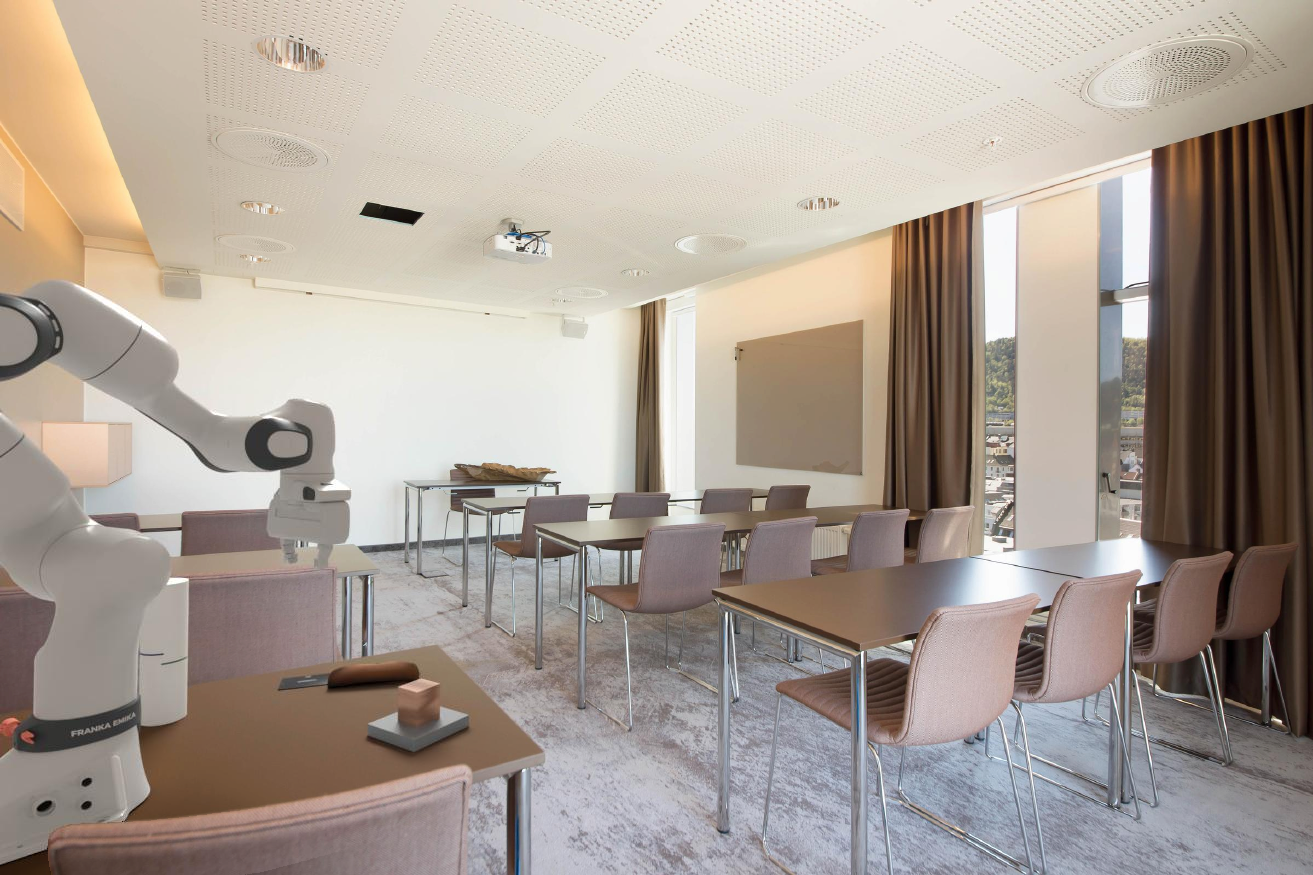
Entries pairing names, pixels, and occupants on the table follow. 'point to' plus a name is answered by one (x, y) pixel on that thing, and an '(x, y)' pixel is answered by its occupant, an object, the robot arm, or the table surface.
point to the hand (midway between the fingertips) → (305, 565)
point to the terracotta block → (418, 702)
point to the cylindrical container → (165, 656)
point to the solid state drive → (304, 681)
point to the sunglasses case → (373, 673)
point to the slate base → (417, 729)
